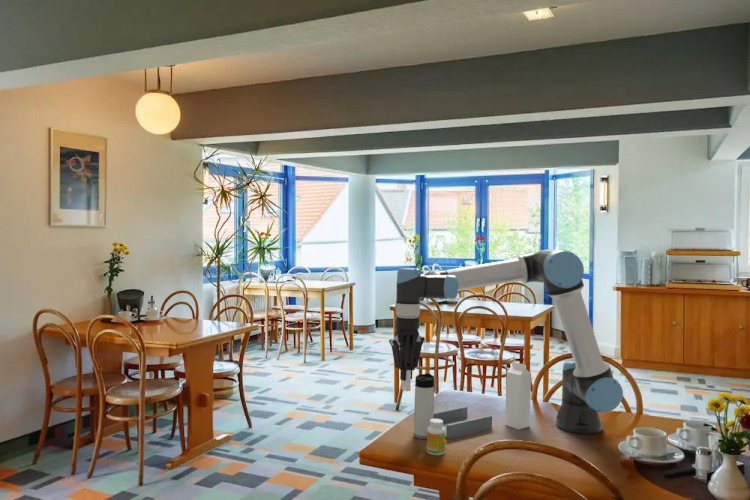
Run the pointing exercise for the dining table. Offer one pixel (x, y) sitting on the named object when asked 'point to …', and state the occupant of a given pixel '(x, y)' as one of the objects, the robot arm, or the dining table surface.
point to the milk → (518, 396)
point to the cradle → (462, 422)
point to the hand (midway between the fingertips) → (406, 390)
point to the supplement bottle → (436, 437)
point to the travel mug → (423, 404)
